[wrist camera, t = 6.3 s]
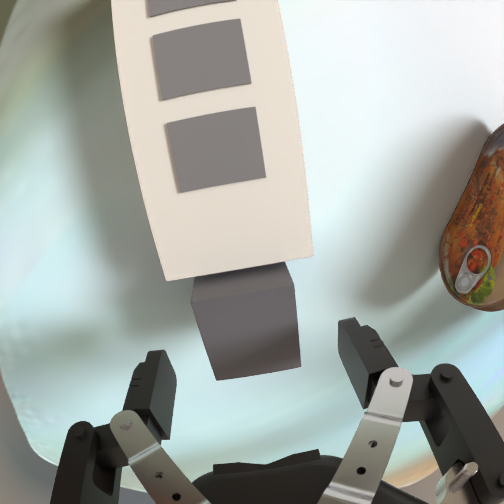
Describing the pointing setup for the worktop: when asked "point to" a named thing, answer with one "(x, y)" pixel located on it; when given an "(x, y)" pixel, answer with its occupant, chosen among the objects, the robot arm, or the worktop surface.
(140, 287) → the worktop surface
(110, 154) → the worktop surface
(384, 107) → the worktop surface
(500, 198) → the tin
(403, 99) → the worktop surface
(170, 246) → the power strip
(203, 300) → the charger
